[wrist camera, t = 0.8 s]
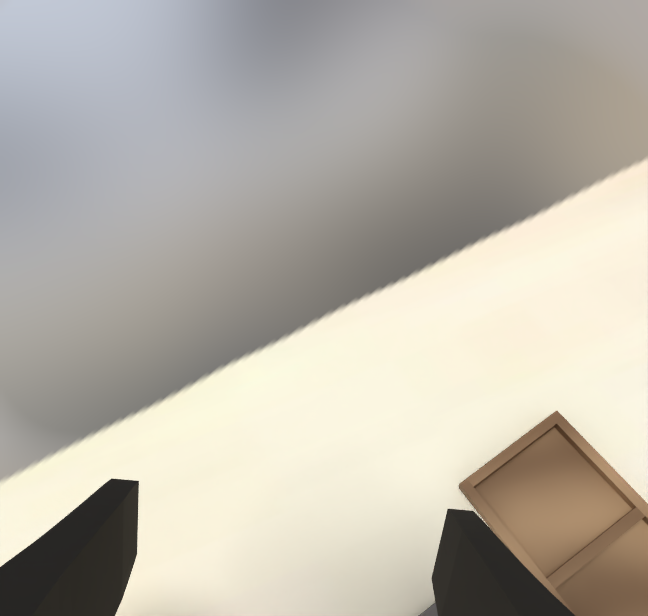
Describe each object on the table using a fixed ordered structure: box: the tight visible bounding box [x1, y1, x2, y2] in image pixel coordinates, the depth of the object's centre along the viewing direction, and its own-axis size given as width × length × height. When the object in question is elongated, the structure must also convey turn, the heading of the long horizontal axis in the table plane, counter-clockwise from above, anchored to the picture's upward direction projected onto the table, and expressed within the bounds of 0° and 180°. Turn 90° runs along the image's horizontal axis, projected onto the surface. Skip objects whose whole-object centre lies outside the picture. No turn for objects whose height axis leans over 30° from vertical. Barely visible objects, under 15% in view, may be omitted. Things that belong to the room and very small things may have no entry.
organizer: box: [459, 411, 648, 616], centre depth 24 cm, size 17×6×1 cm, turn 33°
